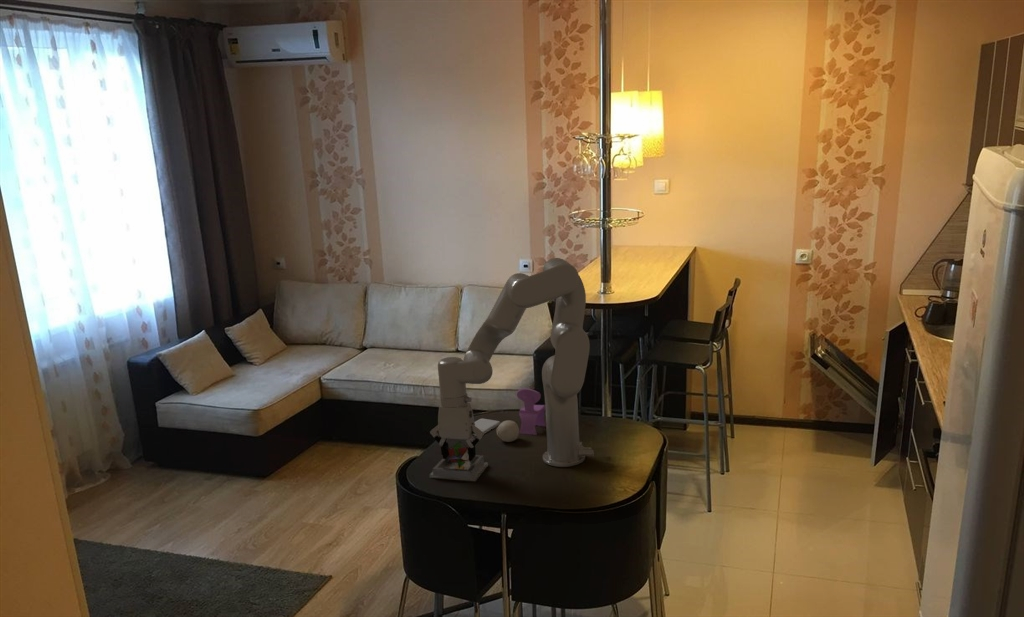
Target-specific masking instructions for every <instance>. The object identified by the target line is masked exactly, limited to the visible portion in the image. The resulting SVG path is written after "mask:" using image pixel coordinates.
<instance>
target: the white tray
mask: <svg viewBox="0 0 1024 617" xmlns="http://www.w3.org/2000/svg"><path fill="white" fill-rule="evenodd" d="M448 459H450V457H449V456H448V457H447V458H446V459H443V458H441V459H440V461H438V462H437V464H436V465H435V466H434V467H432V471H431V472H430V473H429V479H440V480H451V481H452V480H453V481H454V480H455V481H462V482H464V481H465V482H476V481H477V480H478V479H479V477H480V476H481V475H482V474H483V473H484V471H485V470H486V469H487V468H488V466H489V463H488V462H486V461H485V456H484V455H480V454H476V456H475V457H474V458H473V460H472V461H465V463H464V464H463V465H464V466H463V465H462V466H461V467H460V468H459V467H458V463H456V462H452V463H451V462H450V461H451V460H448Z"/></svg>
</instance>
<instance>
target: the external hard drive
mask: <svg viewBox="0 0 1024 617" xmlns="http://www.w3.org/2000/svg"><path fill="white" fill-rule="evenodd" d="M500 424H501V421H499V420H494V419H489V418H488V419H487V418H479V419H478V420H475V426H476V427H477V428H478V429H480V430H481V431H482V432H483V433H484V435H485V434H487V433H488V432H490V431H491V429H492V430H493V429H495V428H498V426H499V425H500ZM473 435H474V436H473V437H477V434H473Z"/></svg>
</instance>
